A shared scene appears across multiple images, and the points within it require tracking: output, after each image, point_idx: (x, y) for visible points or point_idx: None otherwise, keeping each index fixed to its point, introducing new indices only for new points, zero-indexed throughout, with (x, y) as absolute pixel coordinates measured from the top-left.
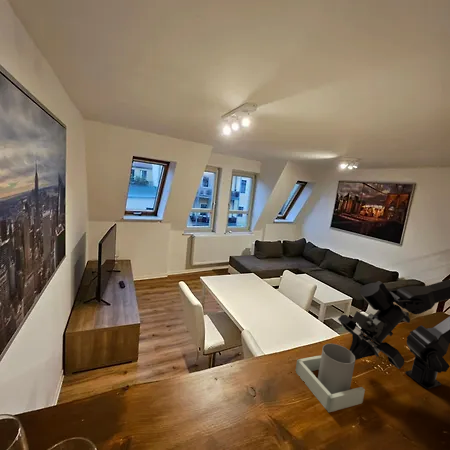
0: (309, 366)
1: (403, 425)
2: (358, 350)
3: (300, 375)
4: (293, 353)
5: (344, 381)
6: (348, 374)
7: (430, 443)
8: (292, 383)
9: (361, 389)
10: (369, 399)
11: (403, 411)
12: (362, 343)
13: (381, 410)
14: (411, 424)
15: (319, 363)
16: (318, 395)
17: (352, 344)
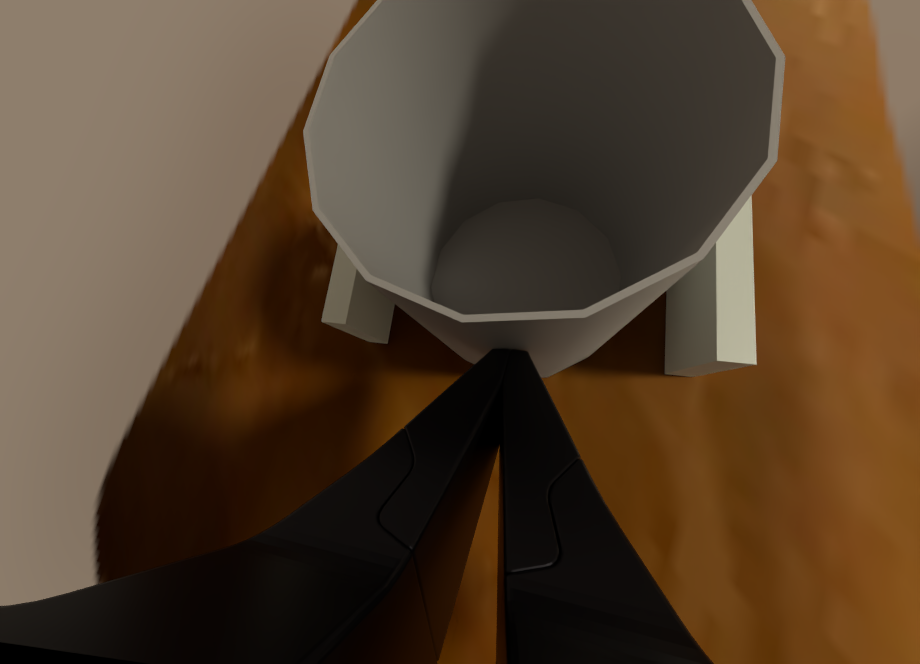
0: None
1: (213, 420)
2: (404, 456)
3: None
4: (902, 230)
5: (405, 211)
6: (375, 201)
7: (127, 441)
8: None
9: (333, 300)
10: (365, 407)
11: (240, 517)
12: (270, 606)
13: (300, 400)
14: (195, 466)
15: (689, 277)
16: None
17: (578, 502)
